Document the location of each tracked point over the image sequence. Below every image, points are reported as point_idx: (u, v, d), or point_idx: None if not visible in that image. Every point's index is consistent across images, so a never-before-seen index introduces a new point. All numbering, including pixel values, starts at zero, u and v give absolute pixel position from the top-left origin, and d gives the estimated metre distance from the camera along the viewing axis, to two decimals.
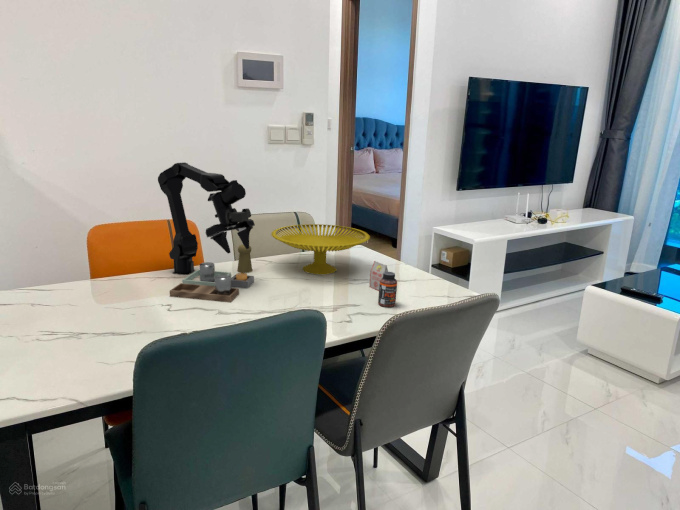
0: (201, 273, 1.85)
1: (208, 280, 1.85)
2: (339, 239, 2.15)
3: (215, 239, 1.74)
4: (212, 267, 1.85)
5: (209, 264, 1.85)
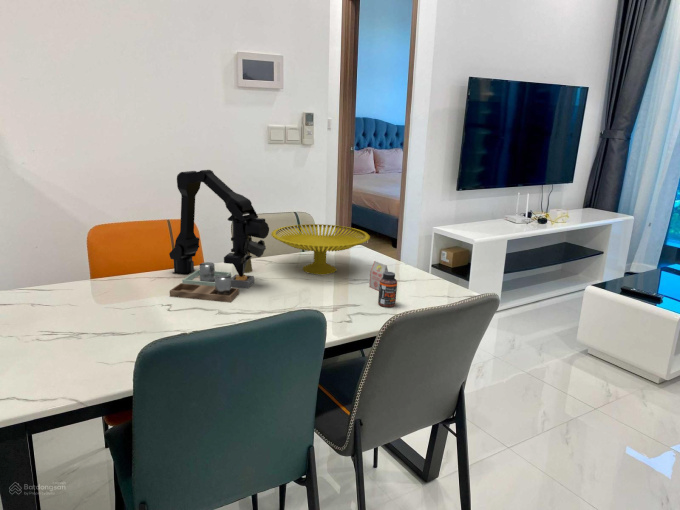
0: (201, 273, 1.85)
1: (208, 280, 1.85)
2: (339, 239, 2.15)
3: None
4: (212, 267, 1.85)
5: (209, 264, 1.85)
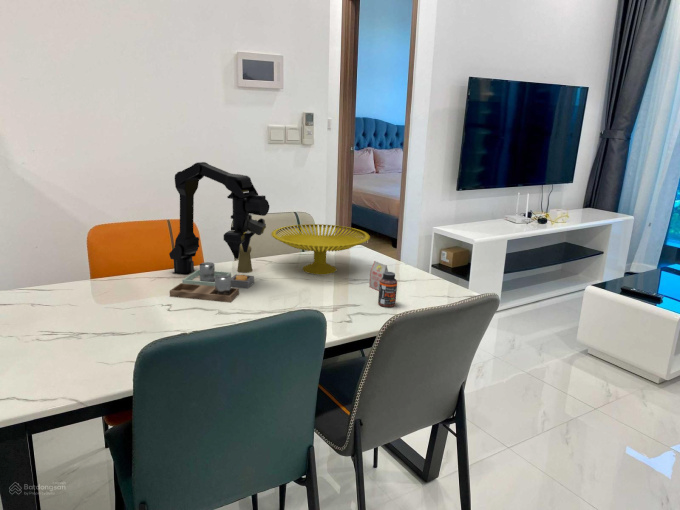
0: (201, 273, 1.85)
1: (208, 280, 1.85)
2: (339, 239, 2.15)
3: (229, 243, 1.75)
4: (212, 267, 1.85)
5: (209, 264, 1.85)
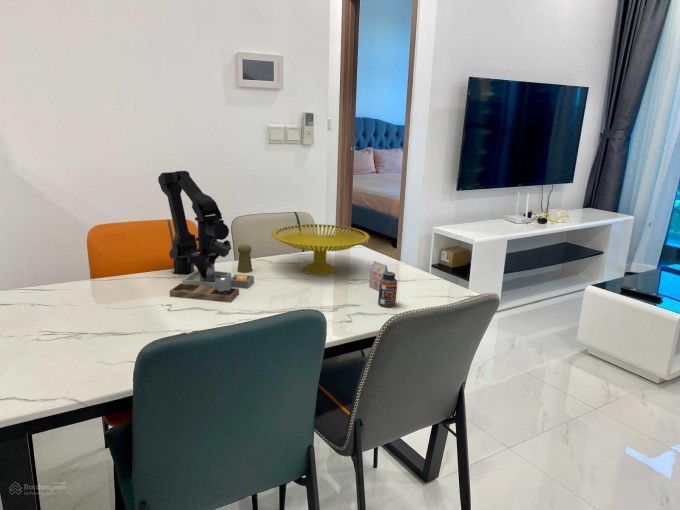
0: None
1: (208, 280, 1.85)
2: (339, 239, 2.15)
3: (196, 263, 1.81)
4: (212, 267, 1.85)
5: (209, 264, 1.85)
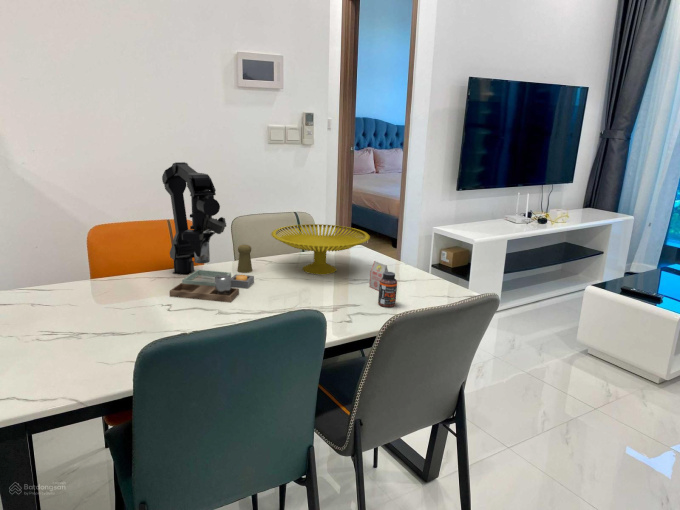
0: None
1: (203, 258, 1.79)
2: (339, 239, 2.15)
3: (190, 240, 1.75)
4: (207, 245, 1.79)
5: (204, 242, 1.79)
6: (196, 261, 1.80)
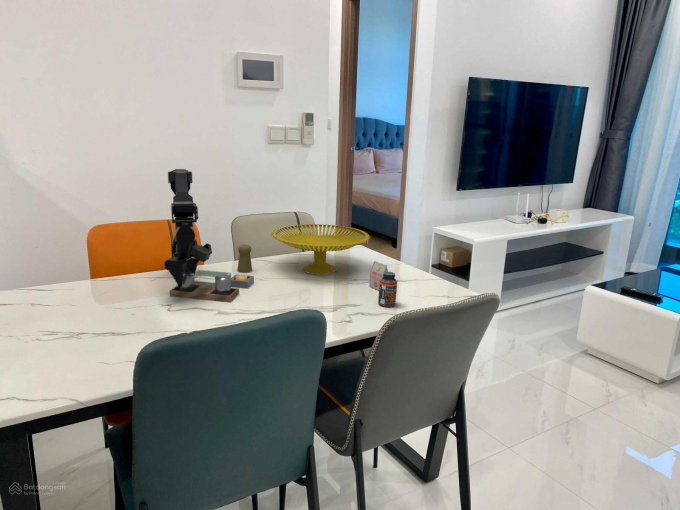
0: None
1: (187, 291, 1.72)
2: (339, 239, 2.15)
3: (171, 270, 1.66)
4: (191, 277, 1.72)
5: (189, 274, 1.72)
6: None
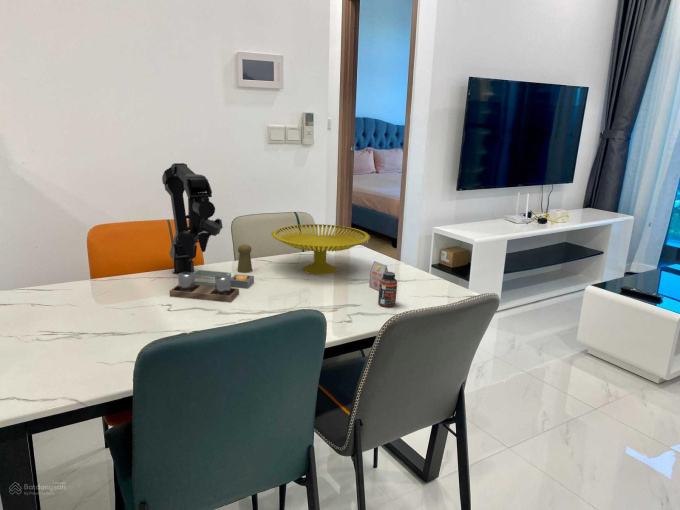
0: (180, 283, 1.71)
1: (187, 291, 1.72)
2: (339, 239, 2.15)
3: (183, 243, 1.75)
4: (191, 277, 1.72)
5: (189, 274, 1.72)
6: None
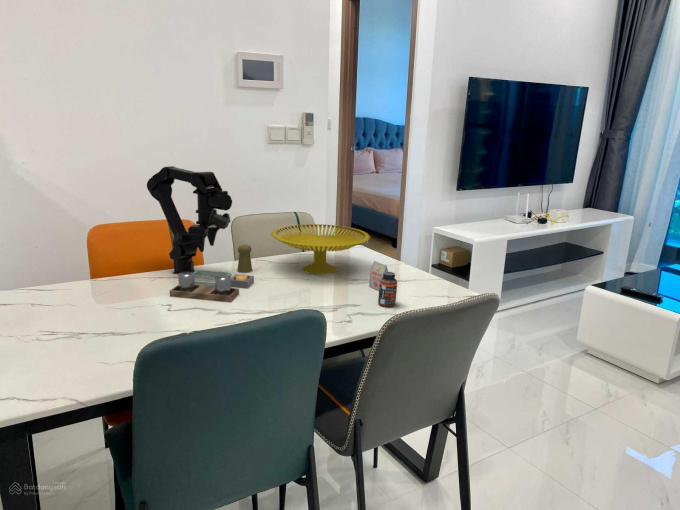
0: (180, 283, 1.71)
1: (187, 291, 1.72)
2: (339, 239, 2.15)
3: (193, 236, 1.82)
4: (191, 277, 1.72)
5: (189, 274, 1.72)
6: None
